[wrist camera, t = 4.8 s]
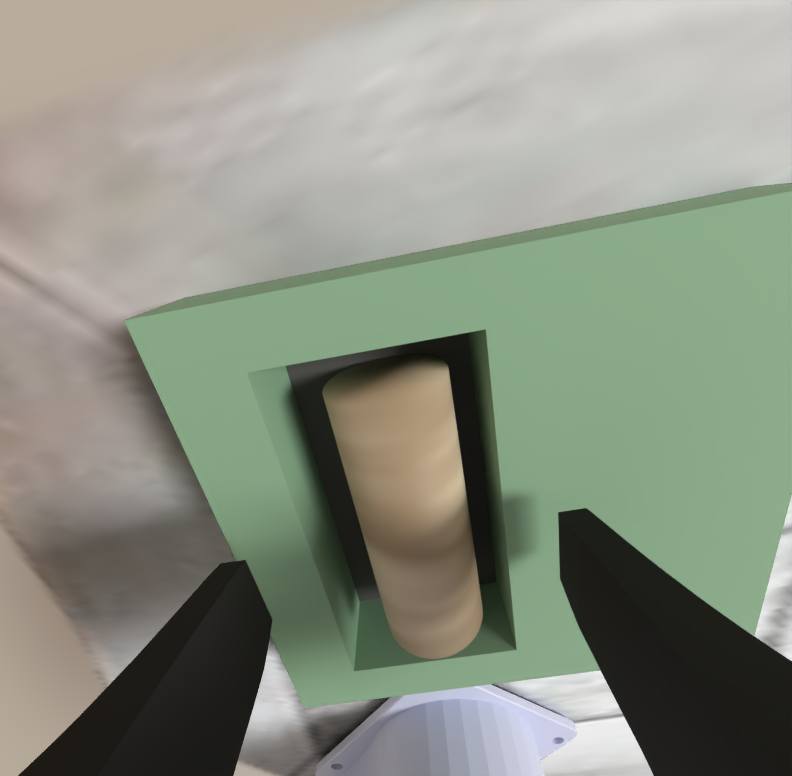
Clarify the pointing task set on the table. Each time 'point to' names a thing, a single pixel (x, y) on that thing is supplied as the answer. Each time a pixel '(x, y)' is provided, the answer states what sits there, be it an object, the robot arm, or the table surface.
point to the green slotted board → (504, 425)
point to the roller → (410, 497)
